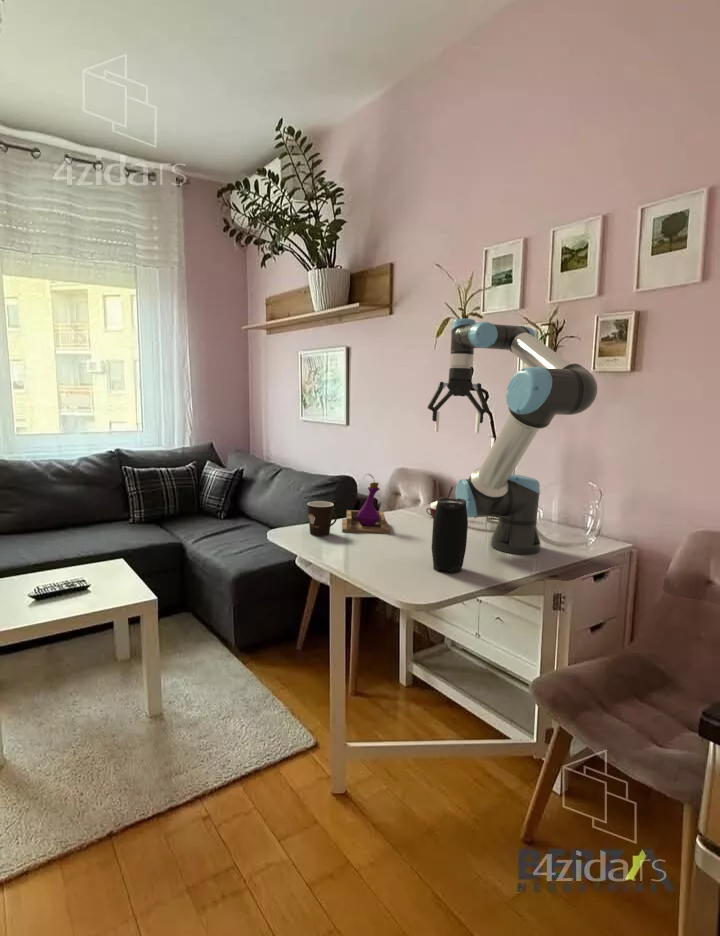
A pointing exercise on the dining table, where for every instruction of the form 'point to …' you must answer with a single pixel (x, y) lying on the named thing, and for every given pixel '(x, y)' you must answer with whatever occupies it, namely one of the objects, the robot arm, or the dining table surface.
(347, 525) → the walnut cradle
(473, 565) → the dining table surface
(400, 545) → the dining table surface
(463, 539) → the portable speaker
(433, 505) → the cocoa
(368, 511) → the perfume bottle
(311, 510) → the coffee mug
